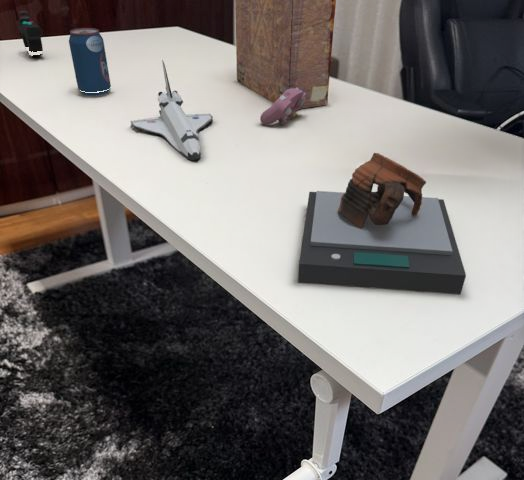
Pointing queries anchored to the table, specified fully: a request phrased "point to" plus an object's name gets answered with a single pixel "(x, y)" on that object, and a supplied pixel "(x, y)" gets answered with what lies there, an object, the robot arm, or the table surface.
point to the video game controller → (284, 107)
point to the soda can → (89, 61)
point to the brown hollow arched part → (379, 191)
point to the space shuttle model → (175, 123)
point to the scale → (381, 248)
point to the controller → (30, 33)
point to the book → (285, 47)
